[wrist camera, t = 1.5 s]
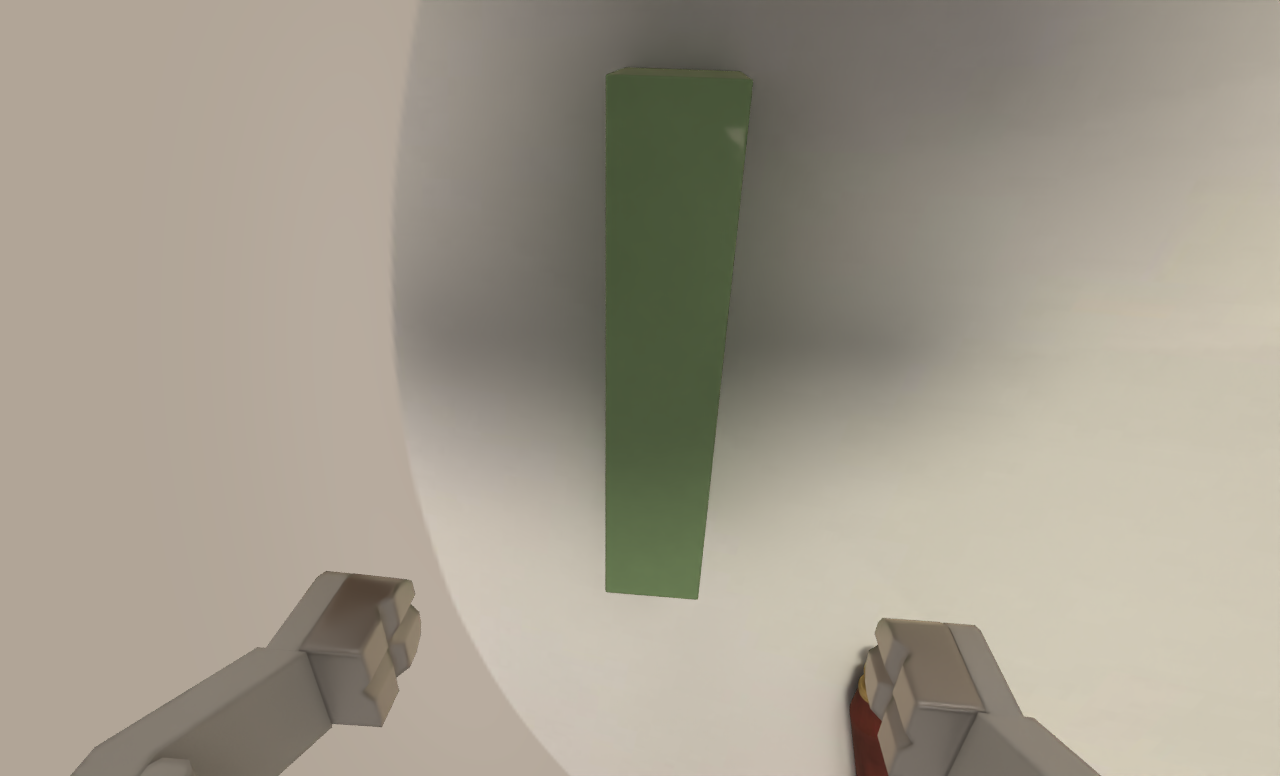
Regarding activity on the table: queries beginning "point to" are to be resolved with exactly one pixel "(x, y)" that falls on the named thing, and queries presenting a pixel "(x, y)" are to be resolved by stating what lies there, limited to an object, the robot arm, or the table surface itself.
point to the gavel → (866, 734)
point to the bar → (667, 312)
